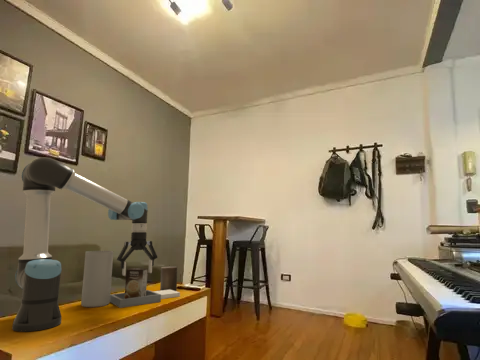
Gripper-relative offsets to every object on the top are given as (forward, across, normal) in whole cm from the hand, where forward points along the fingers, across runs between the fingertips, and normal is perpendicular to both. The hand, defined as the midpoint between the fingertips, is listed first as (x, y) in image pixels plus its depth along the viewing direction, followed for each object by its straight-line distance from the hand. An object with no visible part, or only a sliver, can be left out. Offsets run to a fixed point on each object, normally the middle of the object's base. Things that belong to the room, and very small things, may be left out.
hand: (137, 274), depth 155 cm
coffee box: (+14, 0, 0) cm, 14 cm away
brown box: (+14, +26, +18) cm, 35 cm away
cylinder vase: (+13, -18, +6) cm, 23 cm away
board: (+14, +18, +4) cm, 23 cm away
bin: (+13, 0, 0) cm, 13 cm away
